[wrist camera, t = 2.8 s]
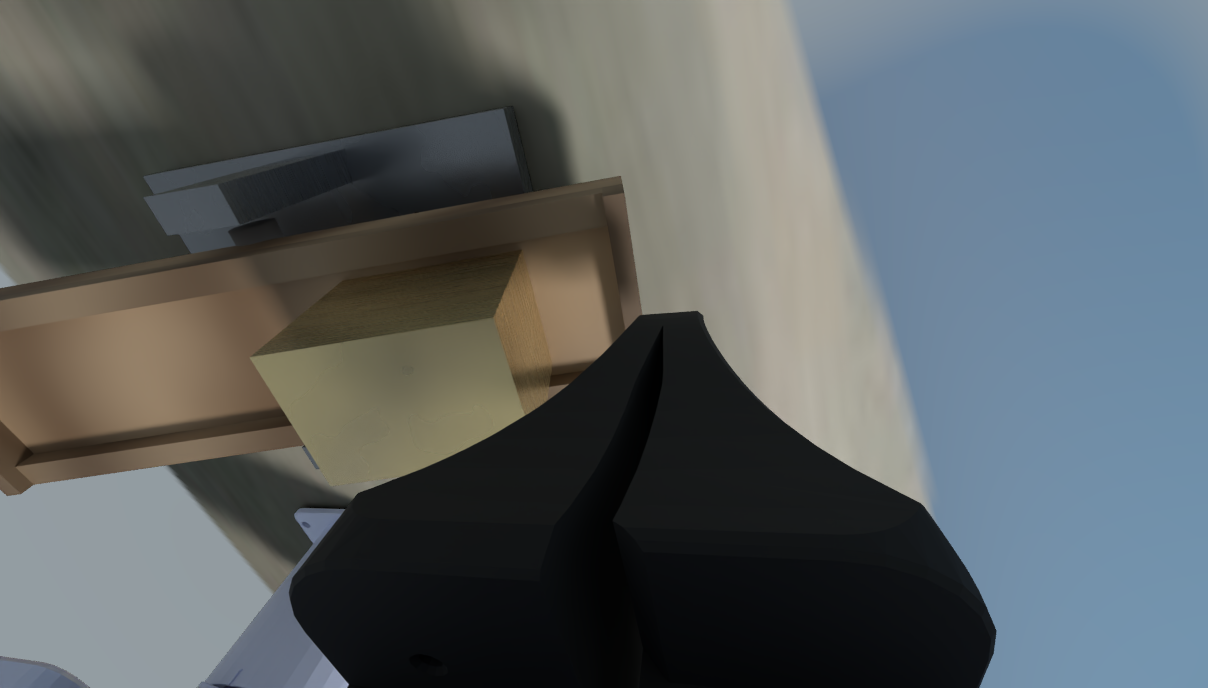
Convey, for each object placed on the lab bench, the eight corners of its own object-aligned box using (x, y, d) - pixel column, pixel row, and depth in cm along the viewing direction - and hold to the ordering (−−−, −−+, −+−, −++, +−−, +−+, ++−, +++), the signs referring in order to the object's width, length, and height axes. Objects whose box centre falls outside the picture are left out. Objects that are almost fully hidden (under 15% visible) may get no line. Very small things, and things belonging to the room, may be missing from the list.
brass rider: (552, 364, 14) (538, 457, 11) (393, 388, 15) (330, 486, 11) (522, 249, 13) (493, 317, 9) (342, 280, 13) (249, 357, 10)
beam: (616, 154, 13) (621, 175, 11) (647, 359, 17) (656, 412, 14) (-51, 277, 15) (-187, 321, 12) (99, 442, 18) (16, 504, 16)
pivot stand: (577, 377, 19) (539, 477, 15) (294, 389, 23) (192, 474, 18) (512, 105, 15) (426, 132, 10) (164, 171, 18) (-20, 213, 13)
